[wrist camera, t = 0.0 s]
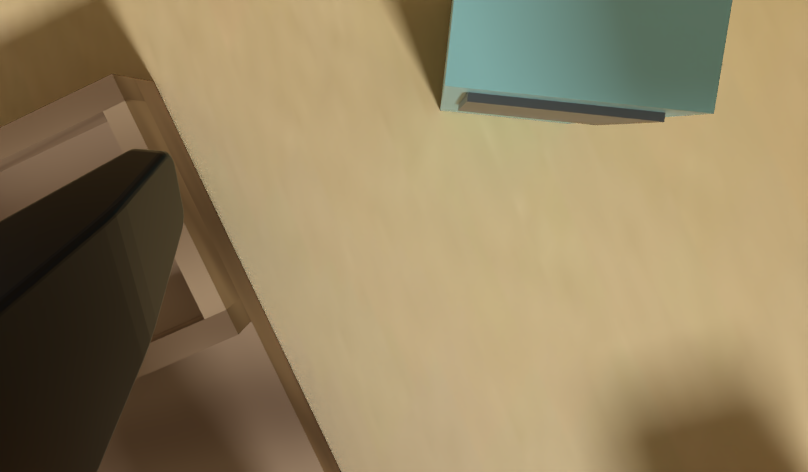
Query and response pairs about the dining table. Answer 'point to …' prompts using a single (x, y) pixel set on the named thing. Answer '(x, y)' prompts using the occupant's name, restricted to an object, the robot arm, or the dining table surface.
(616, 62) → the finger block
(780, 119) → the dining table surface
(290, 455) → the brown wooden stand
